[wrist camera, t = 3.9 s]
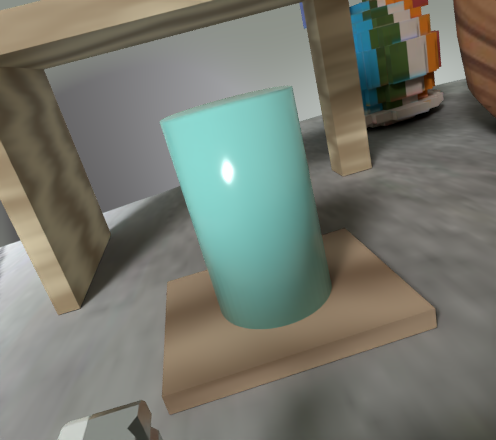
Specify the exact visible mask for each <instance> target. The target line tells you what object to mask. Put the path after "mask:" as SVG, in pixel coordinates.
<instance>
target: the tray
mask: <svg viewBox="0 0 496 440" xmlns="http://www.w3.org/2000/svg"><path fill="white" fill-rule="evenodd" d="M322 239H323V244H324V249H325V254H326V259H327V264H328V269H329V274H330V279H331V284H332V289H331V293H330V295H329V298H328V299H327V301H326V302H325V303H324V304H323V305H322V306H321V307H320V308H319V309H318V310H317V311H316V312H314V313H313V314H311V315H310V316H308V317H306V318H304V319H302V320H300V321H298V322H295V323H292V324H289V325H286V326H282V327H278V328H272V329H248V328H243V327H239V326H236V325H234V324H232V323H230V322H229V321H228V320H226V318H225V317H224V316H223V314H222V313H221V310H220V306H219V303H218V300H217V297H216V294H215V291H214V288H213V285H212V282H211V279H210V276H209V272H208V270H205V271H202V272H198V273H195V274H192V275H188V276H185V277H182V278H179V279H175V280H172V281H169V282H167V300H166V322H165V344H164V365H163V387H162V398H163V400H164V403H165V405H166V407H167V410H168V412H169V414H170V415H171V414H174V413H177V412H180V411H183V410H186V409H189V408H192V407H195V406H199V405H202V404H205V403H208V402H211V401H214V400H217V399H220V398H223V397H226V396H229V395H232V394H235V393H238V392H241V391H244V390H247V389H250V388H254V387H257V386H260V385H263V384H266V383H269V382H272V381H275V380H278V379H281V378H284V377H287V376H290V375H293V374H296V373H299V372H302V371H305V370H309V369H312V368H315V367H318V366H321V365H324V364H327V363H330V362H333V361H336V360H339V359H342V358H345V357H348V356H351V355H354V354H357V353H360V352H364V351H367V350H370V349H373V348H376V347H379V346H382V345H385V344H388V343H391V342H394V341H397V340H400V339H403V338H406V337H409V336H412V335H415V334H419V333H422V332H425V331H428V330H431V329H434V328H437V323H436V312H435V308H434V307H433V306H432V305H431V304H430V303H428V302H427V301H426V300H425V299H424V298H423V297H422V296H421V295H419V294H418V293H417V292H416V291H415V290H414V289H413V288H412V287H410V286H409V285H408V284H407V283H406V282H405V281H404V280H403V279H401V278H400V277H399V276H398V275H397V274H396V273H395V272H394V271H392V270H391V269H390V268H389V267H388V266H387V265H386V264H385V263H383V262H382V261H381V260H380V259H379V258H378V257H377V256H376V255H374V254H373V253H372V252H371V251H370V250H369V249H368V248H367V247H366V246H364V245H363V244H362V243H361V242H360V241H359V240H358V239H357V238H355V237H354V236H353V235H352V234H351V233H350V232H349V231H348V230H346V229H345V228H343V229H340V230H336V231H333V232H330V233H327V234H323V235H322Z"/></svg>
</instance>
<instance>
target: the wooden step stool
mask: <svg viewBox="0 0 496 440" xmlns="http://www.w3.org/2000/svg"><path fill="white" fill-rule="evenodd" d="M300 2H302V4H303V10H304V15H305V21H306V27H307V32H308V38H309V43H310V49H311V55H312V60H313V65H314V72H315V77H316V83H317V88H318V94H319V100H320V105H321V111H322V116H323V122H324V128H325V133H326V139H327V145H328V150H329V156H330V161H331V167H332V170H333V171H335V172H336V173H338V174H340V175H341V176H346V175H350V174H353V173H356V172H360V171H363V170H367V169H370V168H372V165H371V158H370V151H369V144H368V137H367V130H366V123H365V116H364V109H363V101H362V94H361V87H360V80H359V73H358V66H357V59H356V52H355V45H354V37H353V30H352V23H351V16H350V9H349V2H348V0H41V1H37V2H33V3H29V4H25V5H21V6H17V7H13V8H9V9H5V10H1V11H0V200H1V202H2V204H3V206H4V208H5V210H6V212H7V213H8V215H9V217H10V220H11V222H12V223H13V225H14V227H15V229H16V232H17V234H18V236H19V237H20V240H21V242H22V244H23V246H24V248H25V250H26V252H27V254H28V256H29V258H30V260H31V262H32V264H33V266H34V268H35V270H36V272H37V274H38V276H39V278H40V280H41V282H42V284H43V286H44V288H45V290H46V292H47V294H48V296H49V298H50V300H51V302H52V304H53V305H54V307H55V309H56V311H57V313H58V315H60V314H63V313H67V312H70V311H73V310H77V309H80V307H81V305H82V303H83V300H84V298H85V296H86V293H87V291H88V288H89V286H90V284H91V281H92V279H93V276H94V274H95V272H96V269H97V267H98V265H99V262H100V260H101V257H102V255H103V253H104V250H105V248H106V246H107V243H108V241H109V238H110V236H111V233H110V231H109V228H108V226H107V223H106V221H105V218H104V216H103V214H102V211H101V209H100V206H99V204H98V201H97V199H96V196H95V194H94V192H93V189H92V187H91V184H90V182H89V179H88V177H87V175H86V172H85V170H84V167H83V165H82V162H81V160H80V157H79V155H78V153H77V150H76V147H75V145H74V143H73V140H72V138H71V135H70V133H69V130H68V128H67V125H66V123H65V121H64V118H63V116H62V113H61V111H60V108H59V106H58V103H57V101H56V99H55V96H54V94H53V91H52V89H51V86H50V84H49V81H48V79H47V76H46V74H45V72H44V69H47V68H51V67H55V66H59V65H62V64H66V63H70V62H74V61H78V60H82V59H85V58H89V57H93V56H97V55H101V54H104V53H108V52H112V51H116V50H120V49H124V48H128V47H131V46H135V45H139V44H143V43H147V42H150V41H154V40H158V39H162V38H165V37H170V36H173V35H177V34H181V33H185V32H189V31H193V30H196V29H200V28H204V27H208V26H211V25H216V24H219V23H223V22H227V21H231V20H235V19H239V18H242V17H246V16H250V15H254V14H258V13H261V12H265V11H269V10H273V9H277V8H280V7H284V6H288V5H292V4H296V3H300Z"/></svg>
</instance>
